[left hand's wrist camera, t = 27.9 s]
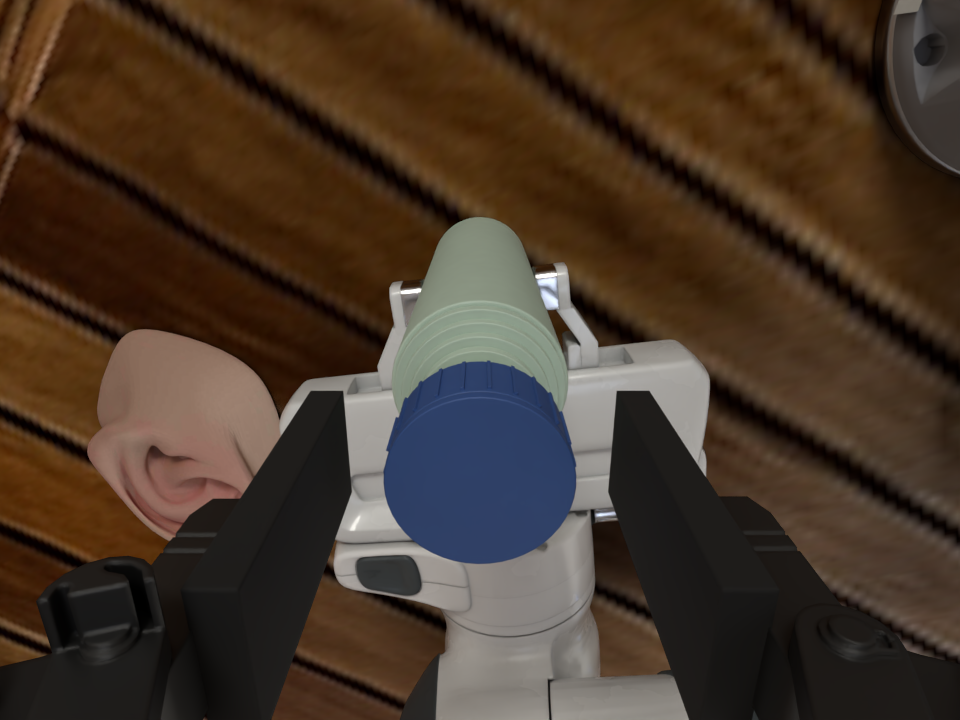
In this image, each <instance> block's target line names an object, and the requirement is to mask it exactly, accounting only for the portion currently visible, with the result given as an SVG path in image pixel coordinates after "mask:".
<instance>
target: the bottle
mask: <svg viewBox="0 0 960 720" xmlns="http://www.w3.org/2000/svg"><path fill="white" fill-rule="evenodd" d="M487 360H489V361H491V362H494V363H499V364H504V365H507V366H510V367H511V365H512V366H514V367H515V368H516V369H518V370H520V371H522V372H524V373H526V374H527V375H529V376H530V377H533V376H534V377H535V378H536V381H537V382H538V383H540V384H541V385H542V386H543V387H544V388H545V389H546V391H547V392H548V393H549V392H551V393H552V395H553V399H554V402H555V403H556V405H557V407H558V409H559V412H560V411H563V408H564V405H565V402H566V398H567V392H568V371H567V365H566V361H565V357H564V355H563V352H562V349H561V347H560V344H559V341H558V339H557V336H556V333H555V331H554V328H553V325H552V323H551V320H550V317H549V315H548V312H547V309H546V307H545V304H544V301H543V299H542V296H541V293H540V291H539V288H538V285H537V283H536V280H535V277H534V275H533V272H532V269H531V267H530V264H529V261H528V259H527V256H526V253H525V251H524V248H523V245H522V243H521V241H520V240H519V238H518V236H517V235H516V234H515V233H514V232H513V231H512V230H511V229H510V228H509V227H508V226H506V225H505V224H503V223H501V222H499V221H497V220H494V219H491V218H484V217H475V218H469V219H466V220H463V221H461V222H459V223H457V224H455V225H454V226H452V227H451V228H450V229H449V230H448V231H447V232H446V233H445V234H444V235H443V237H442V238H441V240H440V242H439V244H438V246H437V248H436V251H435V254H434V256H433V259H432V262H431V264H430V267H429V270H428V272H427V275H426V278H425V280H424V283H423V286H422V288H421V291H420V294H419V296H418V299H417V302H416V304H415V307H414V310H413V312H412V315H411V318H410V320H409V323H408V326H407V328H406V331H405V334H404V336H403V339H402V342H401V344H400V347H399V350H398V352H397V355H396V358H395V361H394V366H393V370H392V393H393V397H394V402H395V405H396V408H397V410H398V413H399V415H400V412H401V408H402V405H403V401H404V399H405V397H406V398H408V397H409V396H410V394H411V393H412V391H413V390H414V389H415V388H416V387H417V386H418V384H419V382H420V381H424V380H425V379H427V378H428V377H429V376H431V375H433V374H434V373H436V372H438V371H439V369H441V368H442V369H444V368H447V367H449V366H453V365H456V364H460V363H462V362H464V361H466V362H478V361H484V362H487Z"/></svg>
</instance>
